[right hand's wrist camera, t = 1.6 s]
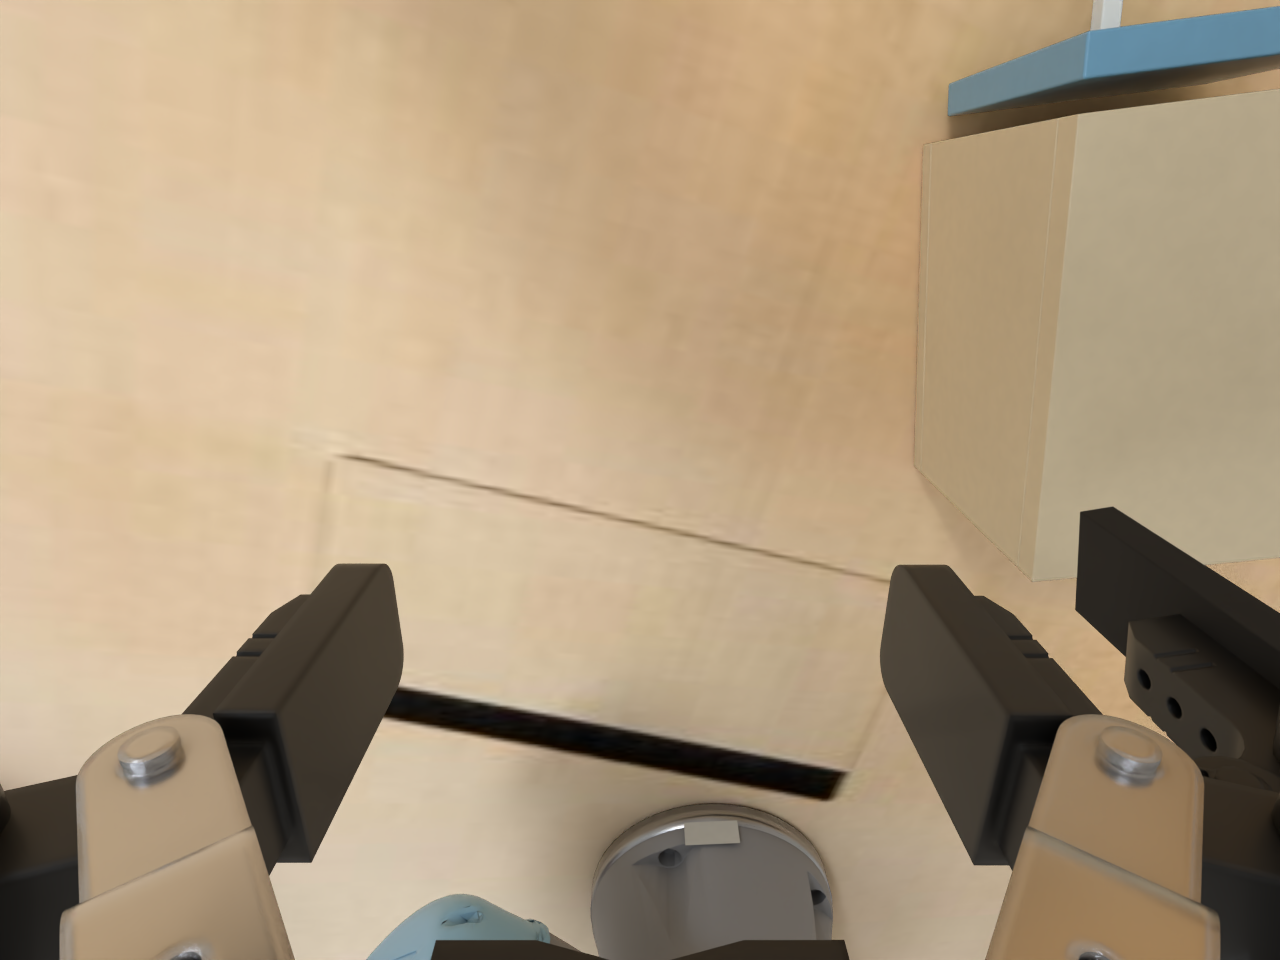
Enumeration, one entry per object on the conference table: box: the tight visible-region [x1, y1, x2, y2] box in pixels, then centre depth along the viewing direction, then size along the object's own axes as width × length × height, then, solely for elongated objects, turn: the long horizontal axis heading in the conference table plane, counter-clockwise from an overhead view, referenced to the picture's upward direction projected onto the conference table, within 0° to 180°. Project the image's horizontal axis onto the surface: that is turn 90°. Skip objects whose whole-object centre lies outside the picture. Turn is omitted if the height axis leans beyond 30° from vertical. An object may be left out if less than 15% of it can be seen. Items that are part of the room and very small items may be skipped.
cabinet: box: [914, 89, 1280, 582], centre depth 27 cm, size 15×11×12 cm
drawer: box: [948, 0, 1280, 116], centre depth 25 cm, size 19×10×10 cm, turn 6°
